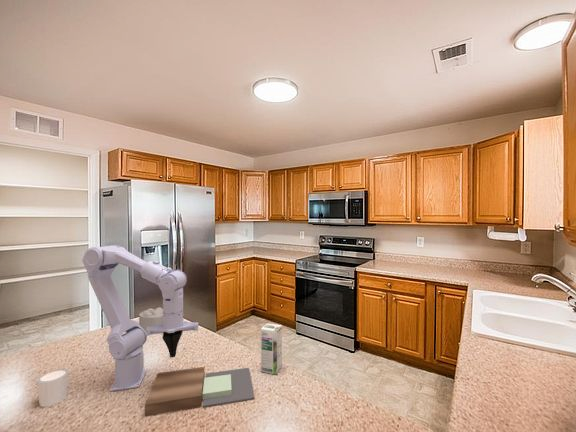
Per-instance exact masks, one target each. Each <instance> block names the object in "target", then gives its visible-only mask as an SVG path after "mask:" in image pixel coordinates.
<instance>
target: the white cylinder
mask: <svg viewBox="0 0 576 432" xmlns="http://www.w3.org/2000/svg"><path fill="white" fill-rule="evenodd" d="M69 374H70V371H69V370H68V369H66V368H63V369H55V370H51V371H49V372H46V373H44V374H42V375H41V376H39V377H38V378H37V380H36V384H37V393H38V395H37V396H38V402H39V407H41V408H47V407H53V406H55V405H57V404H60V403H61V402H62V401H64V400H65V399H66V397H67V390H68V384H69V383H68V381H69Z"/></svg>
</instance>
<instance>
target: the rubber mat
mask: <svg viewBox="0 0 576 432" xmlns="http://www.w3.org/2000/svg"><path fill="white" fill-rule="evenodd" d="M229 374H231V389H232V395H228V396H221V397H215V398H208V399H203V400H202V408H203V409H204V408H210V407H216V406H222V405H223V406H224V405H227V404H234V403H240V402H246V401H252V400H255V399H256V398H255V393H254V392H255V391H254V387H253V381H252V376H251V371H250V367H243V368H237V369H228V370H222V371H214V372H207V373H206V374H205V378H207V377H214V376H222V375H229Z"/></svg>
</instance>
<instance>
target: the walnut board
mask: <svg viewBox="0 0 576 432" xmlns="http://www.w3.org/2000/svg"><path fill="white" fill-rule="evenodd" d="M204 378H205V366H201V367H195V368H194V367H191V368H185V369H178V370H170V371H161V372H157V373H156V376H155V379H154V381H153V384H152V386H151V389H150V391H149V393H148V396H147V397H146V400H145V403H144V417H149V416H154V415H160V414H166V413H173V412H179V411H184V410H191V409H196V408H201V407H202V405H203V399H202V394H203V386H204Z"/></svg>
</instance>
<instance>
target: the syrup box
mask: <svg viewBox="0 0 576 432" xmlns="http://www.w3.org/2000/svg"><path fill="white" fill-rule="evenodd" d="M282 326H283V325H282V324H273V323H266V324H264V325H263V326H262V327H261V328H260V372H261V373H266V374H270V375H274V376H275V375H277V374H278V372H279V371H280V370H281V368H282V367H283V332H282V331H283V327H282Z"/></svg>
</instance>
